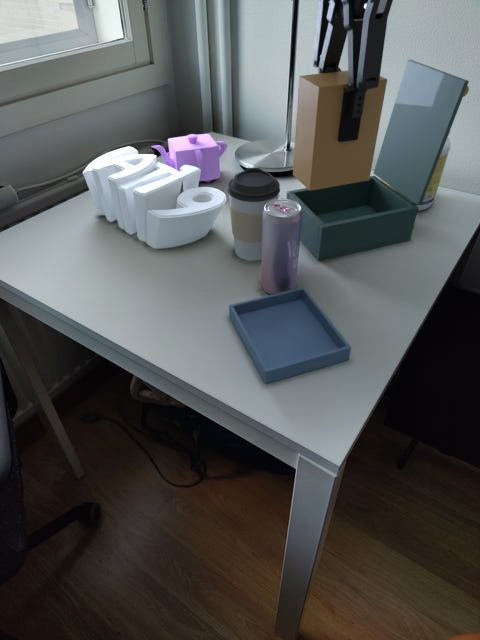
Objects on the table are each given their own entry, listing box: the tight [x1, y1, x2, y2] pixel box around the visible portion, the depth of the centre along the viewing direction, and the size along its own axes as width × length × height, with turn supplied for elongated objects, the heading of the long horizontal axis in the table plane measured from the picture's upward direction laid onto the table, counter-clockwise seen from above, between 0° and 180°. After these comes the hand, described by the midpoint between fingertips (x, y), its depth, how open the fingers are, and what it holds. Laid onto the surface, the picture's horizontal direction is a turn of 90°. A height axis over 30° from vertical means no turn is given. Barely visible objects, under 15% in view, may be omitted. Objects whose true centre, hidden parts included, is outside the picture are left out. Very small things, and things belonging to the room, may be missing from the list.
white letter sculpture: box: [82, 146, 227, 250], centre depth 95 cm, size 35×16×10 cm, turn 42°
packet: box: [292, 70, 388, 191], centre depth 66 cm, size 6×10×14 cm, turn 109°
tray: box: [228, 286, 352, 385], centre depth 69 cm, size 15×13×2 cm
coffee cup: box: [227, 167, 281, 262], centre depth 83 cm, size 9×9×15 cm
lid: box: [373, 59, 470, 205], centre depth 85 cm, size 21×15×6 cm
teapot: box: [150, 133, 228, 183], centre depth 109 cm, size 18×14×10 cm
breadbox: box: [285, 175, 419, 262], centre depth 91 cm, size 20×15×7 cm
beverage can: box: [260, 198, 302, 295], centre depth 74 cm, size 6×6×15 cm
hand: (336, 131), depth 66 cm, fingers closed on packet, 6 cm apart
